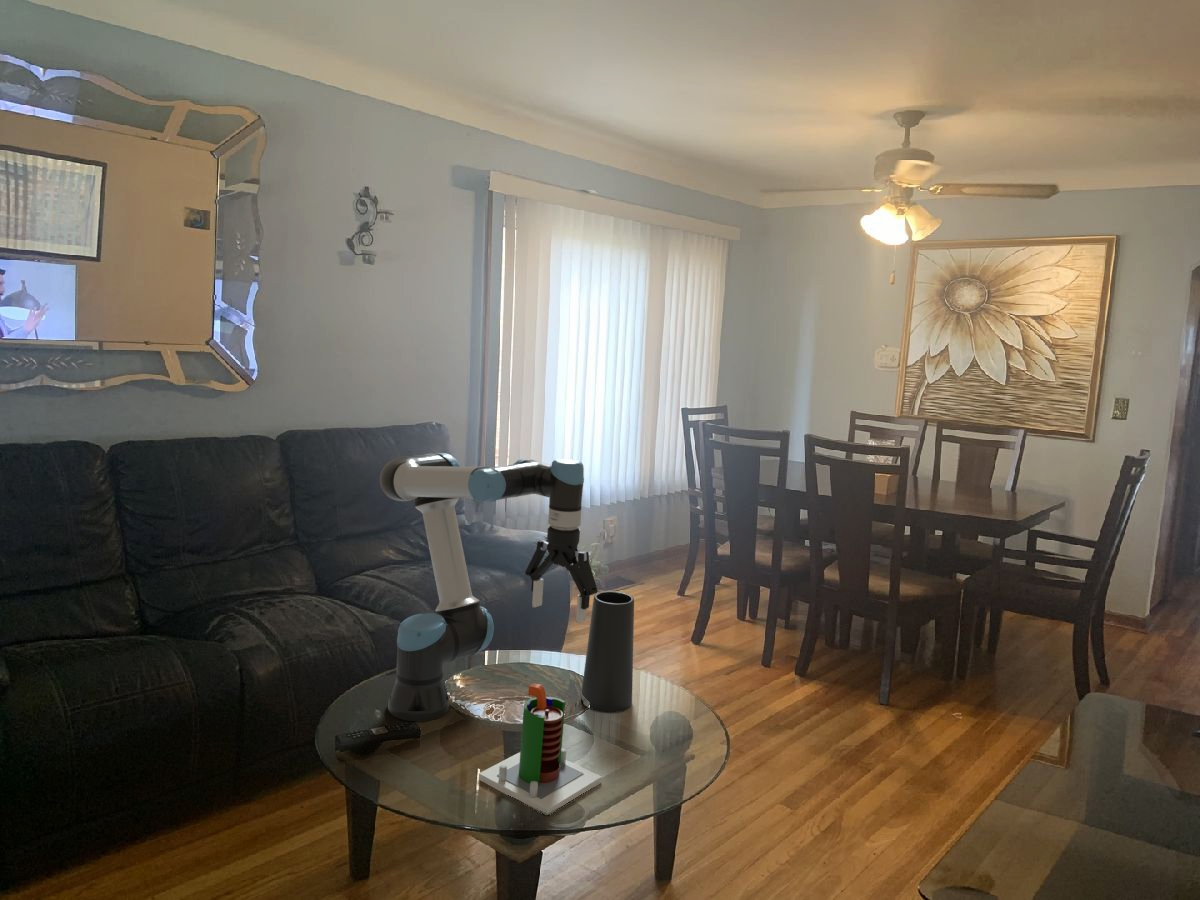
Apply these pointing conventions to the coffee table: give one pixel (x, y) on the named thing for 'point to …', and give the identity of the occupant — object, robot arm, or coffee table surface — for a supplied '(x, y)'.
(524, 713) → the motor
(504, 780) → the mounting board
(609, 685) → the vase
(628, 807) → the coffee table surface
